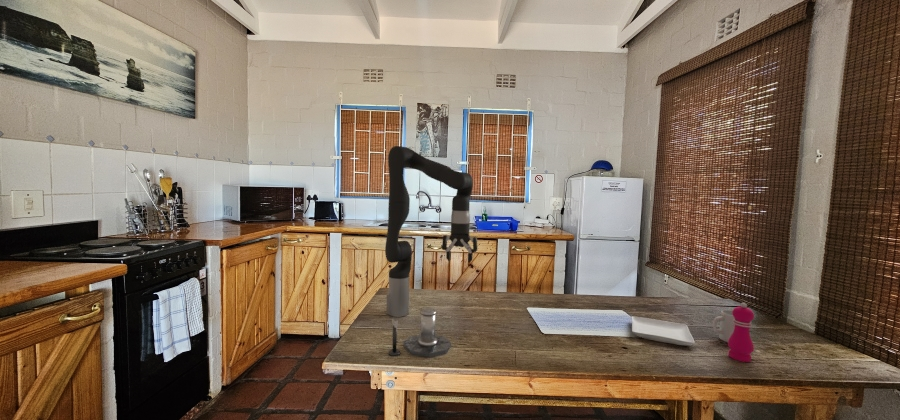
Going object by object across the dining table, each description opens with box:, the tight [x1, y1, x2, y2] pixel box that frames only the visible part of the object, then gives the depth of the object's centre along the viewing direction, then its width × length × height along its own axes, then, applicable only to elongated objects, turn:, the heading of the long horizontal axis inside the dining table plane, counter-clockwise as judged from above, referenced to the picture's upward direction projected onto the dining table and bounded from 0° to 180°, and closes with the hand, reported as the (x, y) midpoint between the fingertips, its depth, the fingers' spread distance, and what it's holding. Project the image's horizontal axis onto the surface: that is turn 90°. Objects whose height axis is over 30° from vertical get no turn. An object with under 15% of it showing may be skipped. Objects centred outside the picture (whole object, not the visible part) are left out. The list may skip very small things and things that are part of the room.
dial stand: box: [388, 317, 411, 357], centre depth 128 cm, size 8×4×12 cm, turn 119°
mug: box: [712, 309, 735, 343], centre depth 145 cm, size 12×8×11 cm
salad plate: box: [630, 315, 696, 347], centre depth 150 cm, size 21×21×3 cm
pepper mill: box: [727, 302, 755, 363], centre depth 130 cm, size 7×7×20 cm
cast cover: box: [418, 307, 437, 347], centre depth 133 cm, size 7×7×12 cm
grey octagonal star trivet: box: [403, 333, 452, 359], centre depth 133 cm, size 16×16×2 cm
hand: (459, 261), depth 149 cm, fingers open, 8 cm apart
